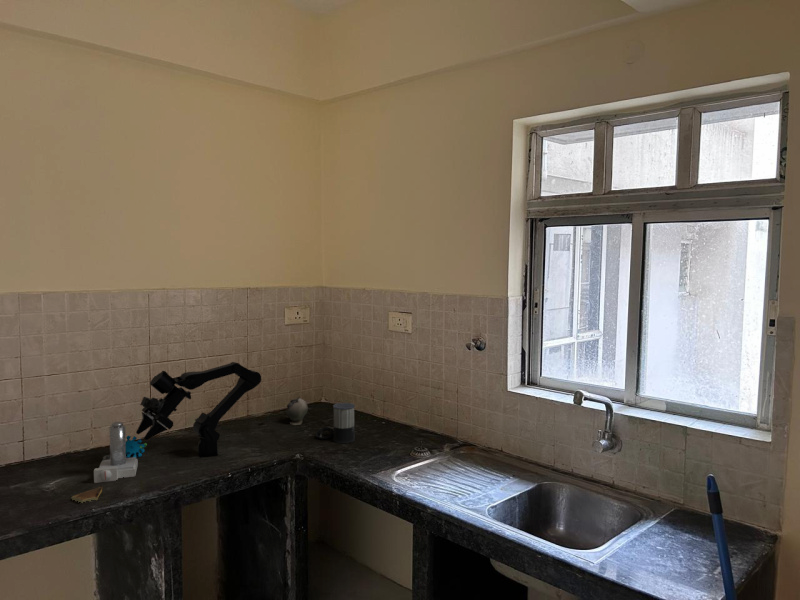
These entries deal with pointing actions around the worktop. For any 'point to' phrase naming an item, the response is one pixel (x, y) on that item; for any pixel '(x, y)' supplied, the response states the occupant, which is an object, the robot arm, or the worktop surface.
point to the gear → (134, 447)
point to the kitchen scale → (115, 470)
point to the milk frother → (341, 424)
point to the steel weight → (117, 444)
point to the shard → (88, 495)
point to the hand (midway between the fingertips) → (140, 436)
